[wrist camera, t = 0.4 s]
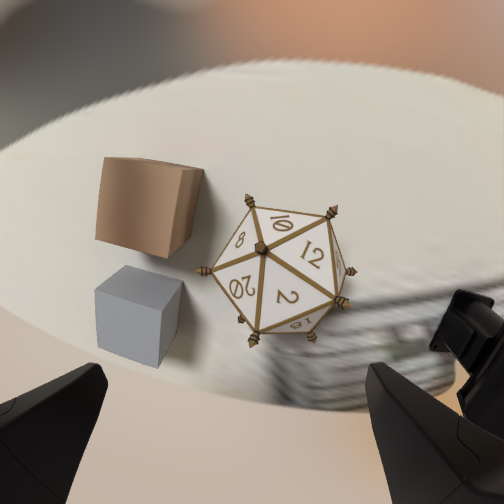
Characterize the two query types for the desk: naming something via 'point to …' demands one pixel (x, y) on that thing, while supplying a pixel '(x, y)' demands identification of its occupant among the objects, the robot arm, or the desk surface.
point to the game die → (282, 270)
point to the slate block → (137, 314)
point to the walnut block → (146, 204)
